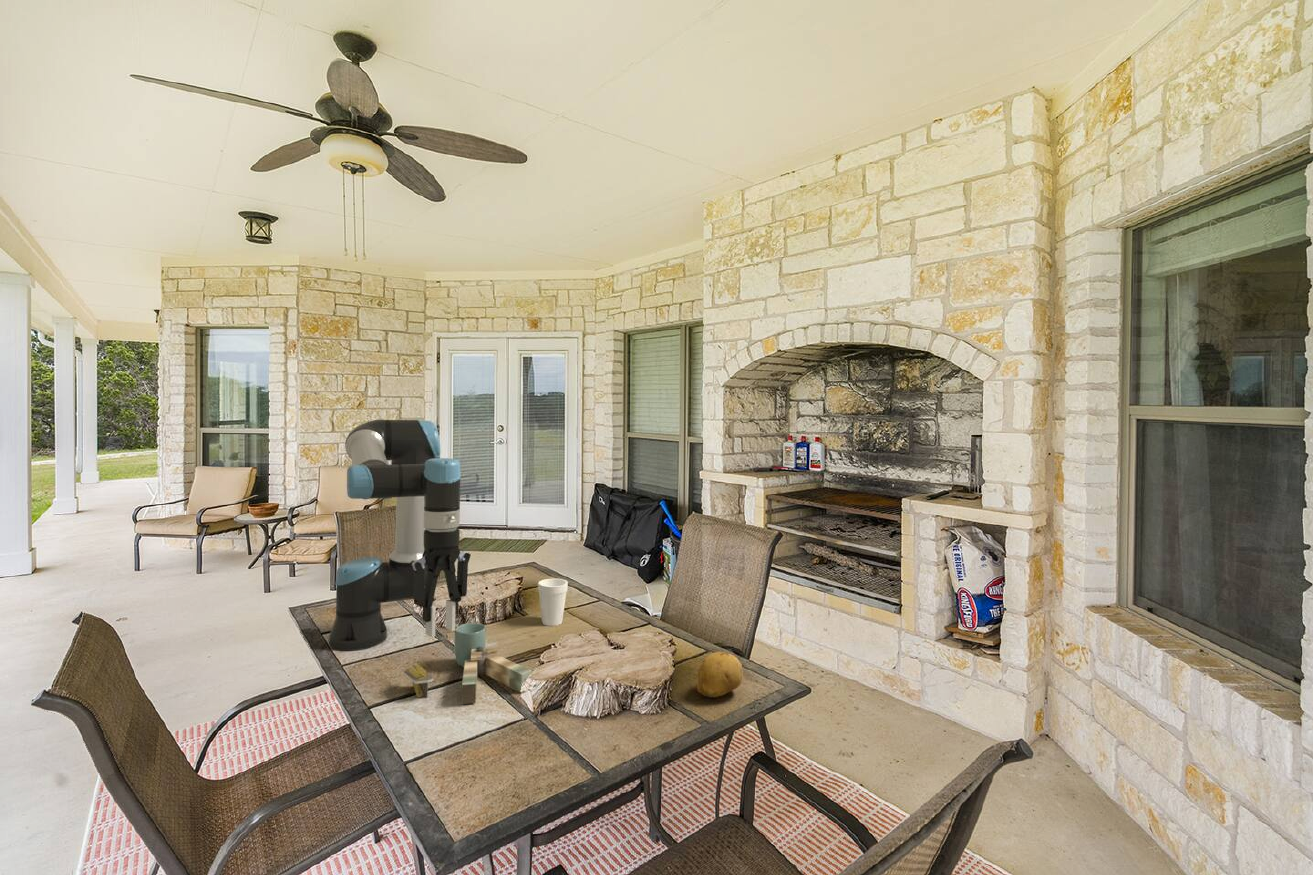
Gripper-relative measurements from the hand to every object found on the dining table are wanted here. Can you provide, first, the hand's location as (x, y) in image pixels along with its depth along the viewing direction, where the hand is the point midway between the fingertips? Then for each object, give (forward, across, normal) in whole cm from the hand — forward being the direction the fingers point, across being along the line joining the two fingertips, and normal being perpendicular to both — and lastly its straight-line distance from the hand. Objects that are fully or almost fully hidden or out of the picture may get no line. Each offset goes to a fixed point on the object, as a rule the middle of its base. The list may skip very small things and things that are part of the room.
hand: (440, 631), depth 135 cm
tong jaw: (+18, +12, +6) cm, 23 cm away
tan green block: (+19, +19, +4) cm, 27 cm away
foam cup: (+19, +55, +26) cm, 64 cm away
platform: (+19, +2, +13) cm, 23 cm away
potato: (+19, +52, -40) cm, 69 cm away
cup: (+19, +19, +18) cm, 32 cm away
